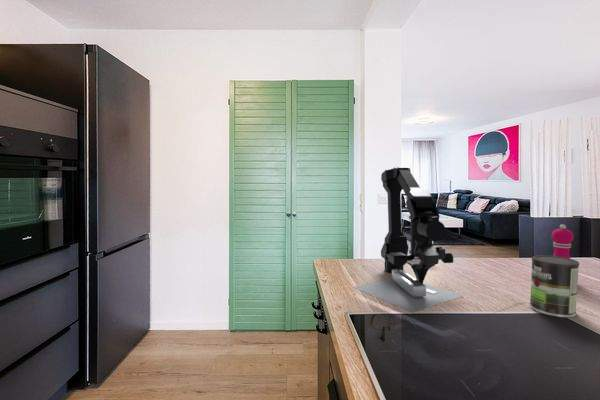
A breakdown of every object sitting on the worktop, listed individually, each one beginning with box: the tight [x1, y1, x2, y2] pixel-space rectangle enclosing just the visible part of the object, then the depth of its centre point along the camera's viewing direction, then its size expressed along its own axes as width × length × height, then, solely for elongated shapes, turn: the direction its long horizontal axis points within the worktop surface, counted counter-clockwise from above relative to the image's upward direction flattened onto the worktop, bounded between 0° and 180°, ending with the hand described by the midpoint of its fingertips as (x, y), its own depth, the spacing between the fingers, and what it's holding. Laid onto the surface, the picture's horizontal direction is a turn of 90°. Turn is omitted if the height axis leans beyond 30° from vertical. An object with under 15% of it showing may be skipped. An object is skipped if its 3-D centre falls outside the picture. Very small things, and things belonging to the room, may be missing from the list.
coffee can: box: [529, 254, 580, 318], centre depth 91 cm, size 10×10×14 cm
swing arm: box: [391, 269, 426, 297], centre depth 107 cm, size 19×4×3 cm, turn 6°
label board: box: [352, 277, 464, 313], centre depth 104 cm, size 24×23×1 cm
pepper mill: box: [551, 223, 574, 259], centre depth 116 cm, size 7×7×20 cm
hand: (420, 284), depth 104 cm, fingers closed
